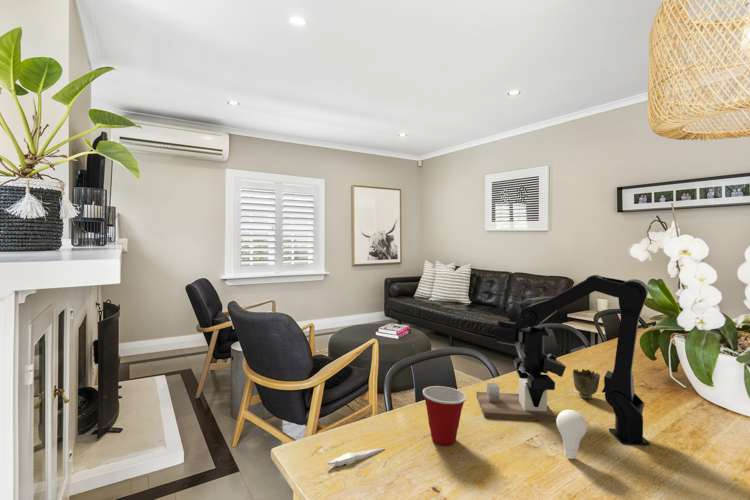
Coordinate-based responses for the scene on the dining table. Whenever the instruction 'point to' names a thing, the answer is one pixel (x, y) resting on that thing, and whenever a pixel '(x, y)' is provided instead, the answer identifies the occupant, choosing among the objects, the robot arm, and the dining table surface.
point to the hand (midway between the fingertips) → (532, 401)
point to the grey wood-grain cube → (492, 392)
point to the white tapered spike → (352, 457)
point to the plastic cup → (443, 413)
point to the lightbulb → (571, 431)
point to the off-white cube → (526, 399)
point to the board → (511, 408)
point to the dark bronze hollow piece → (586, 383)
